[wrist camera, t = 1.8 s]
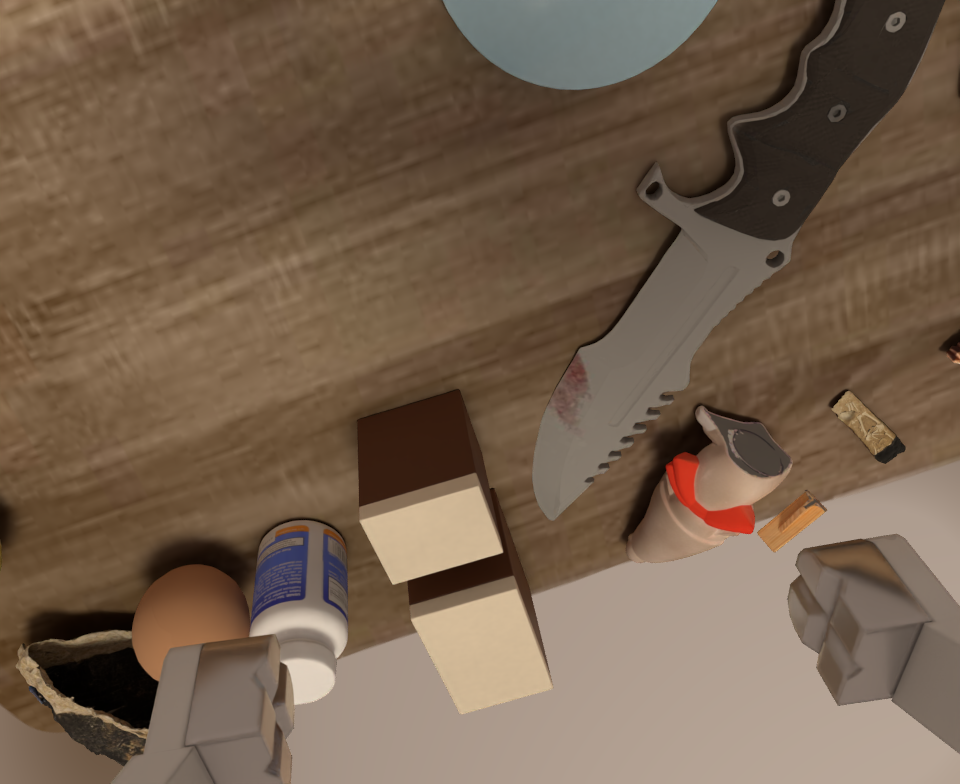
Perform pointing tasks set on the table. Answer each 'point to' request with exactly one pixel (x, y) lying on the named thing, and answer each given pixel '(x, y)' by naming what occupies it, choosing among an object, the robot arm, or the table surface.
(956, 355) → the figurine
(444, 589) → the brown and cream box
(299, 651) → the pill bottle
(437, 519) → the cake slice
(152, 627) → the egg
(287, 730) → the robot arm
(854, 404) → the fossil
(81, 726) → the mineral specimen
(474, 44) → the plate
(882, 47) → the knife
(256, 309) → the table surface
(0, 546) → the fruit
